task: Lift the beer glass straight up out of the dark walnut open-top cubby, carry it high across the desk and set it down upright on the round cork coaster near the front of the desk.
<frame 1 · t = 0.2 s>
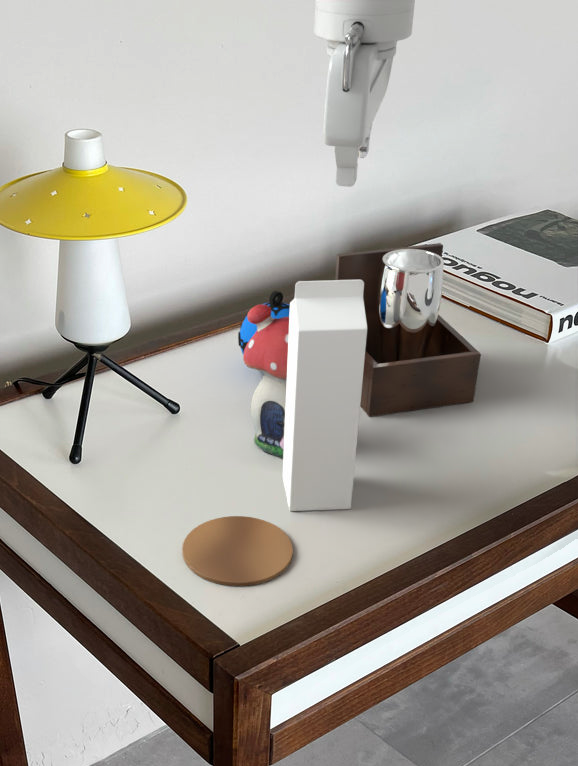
hand: (352, 169, 99), 26 cm above the table, tool pointing down, fingers open, 8 cm apart
coaster: (237, 551, 92), on the table
milk: (315, 495, 99), on the table
ornament: (273, 372, 121), on the table
decorative ornament: (283, 443, 107), on the table
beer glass: (398, 385, 118), resting in cubby
cubby: (398, 383, 118), on the table
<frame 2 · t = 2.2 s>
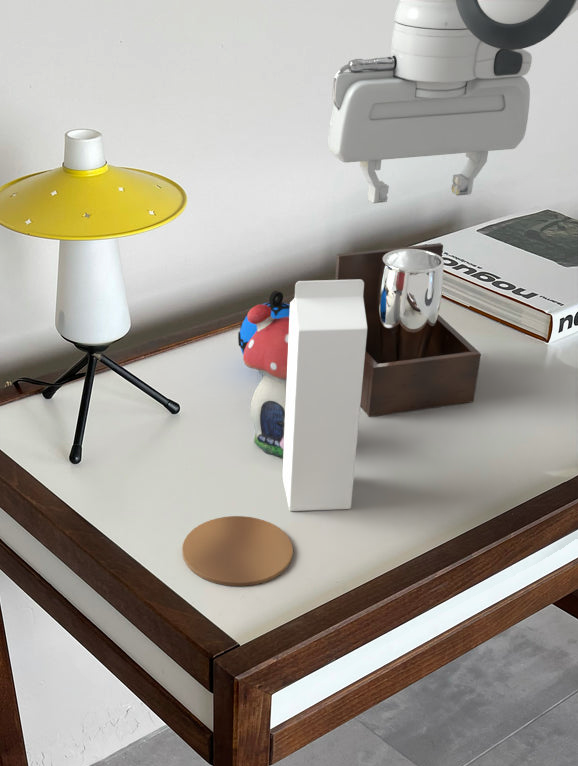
hand: (419, 197, 105), 22 cm above the table, tool pointing down, fingers open, 8 cm apart
nothing on the table moved.
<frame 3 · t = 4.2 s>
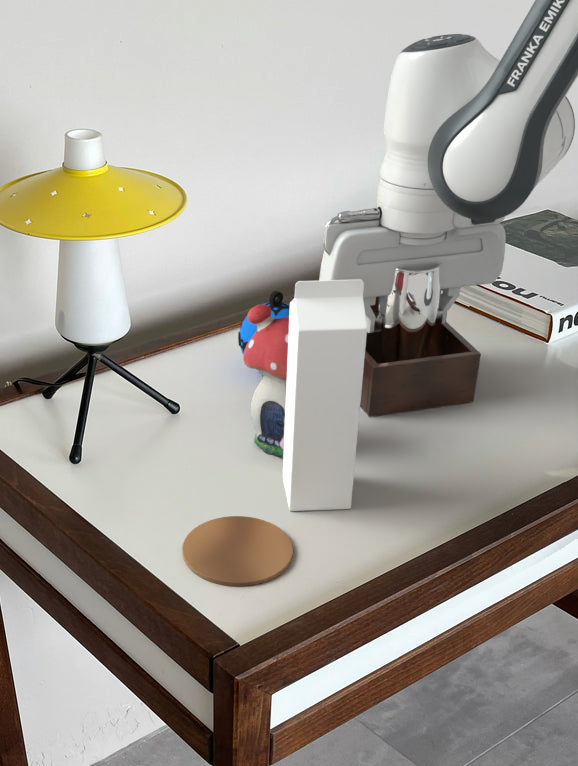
hand: (404, 326, 114), 7 cm above the table, tool pointing down, fingers closed on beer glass, 6 cm apart
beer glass: (398, 384, 118), resting in cubby, touching gripper
everything else where it was.
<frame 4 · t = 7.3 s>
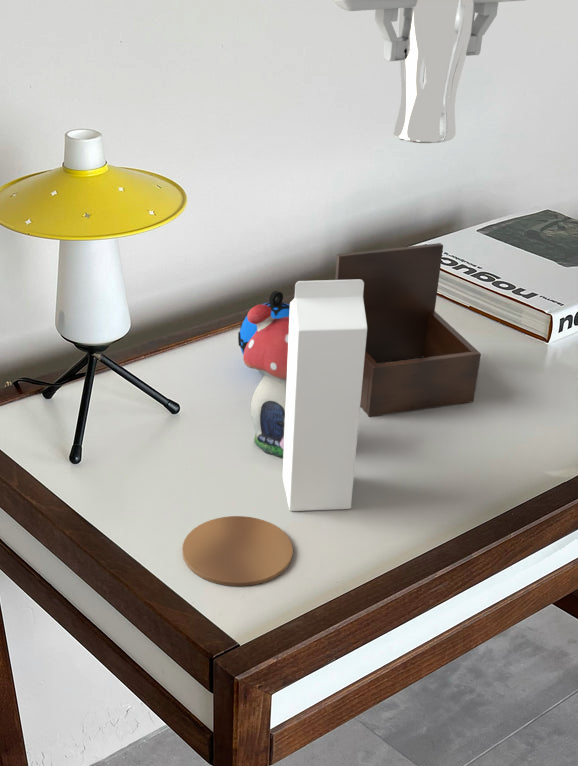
hand: (431, 57, 96), 36 cm above the table, tool pointing down, fingers closed on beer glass, 6 cm apart
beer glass: (423, 137, 101), point 28 cm above the table, touching gripper
everything else where it was.
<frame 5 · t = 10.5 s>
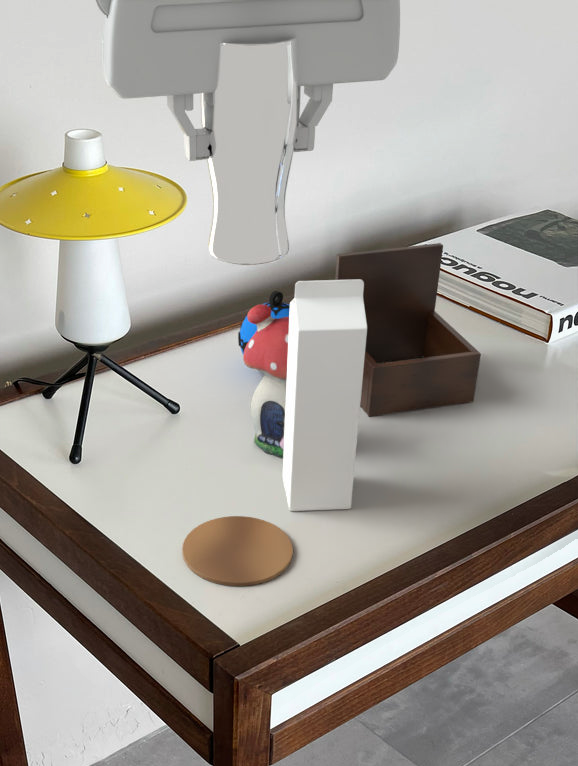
hand: (249, 153, 72), 35 cm above the table, tool pointing down, fingers closed on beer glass, 6 cm apart
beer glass: (248, 253, 77), point 28 cm above the table, touching gripper
everything else where it was.
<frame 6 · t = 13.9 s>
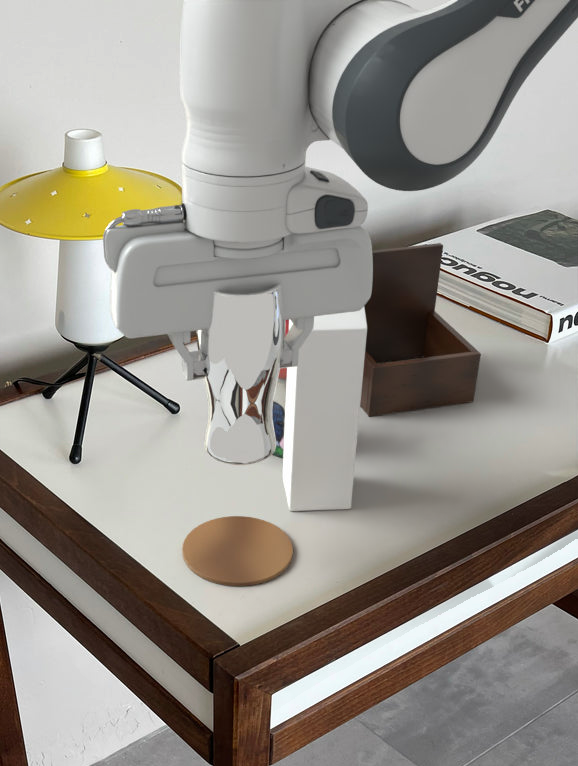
hand: (240, 370, 81), 18 cm above the table, tool pointing down, fingers closed on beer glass, 6 cm apart
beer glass: (240, 448, 86), point 11 cm above the table, touching gripper
everything else where it was.
when the fingers open (8 cm above the table, at t = 16.9 s): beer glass stays where it is, resting on coaster.
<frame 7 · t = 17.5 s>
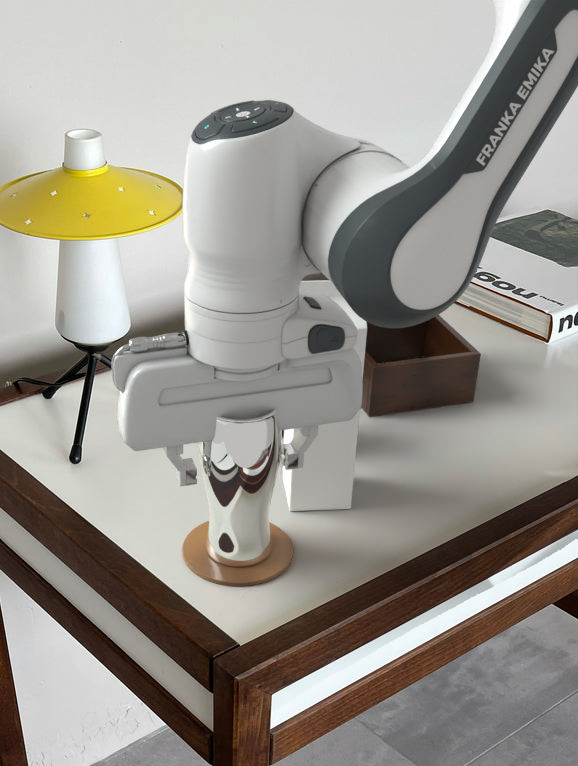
hand: (239, 473, 87), 8 cm above the table, tool pointing down, fingers open, 8 cm apart
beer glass: (238, 548, 92), resting on coaster
everything else where it was.
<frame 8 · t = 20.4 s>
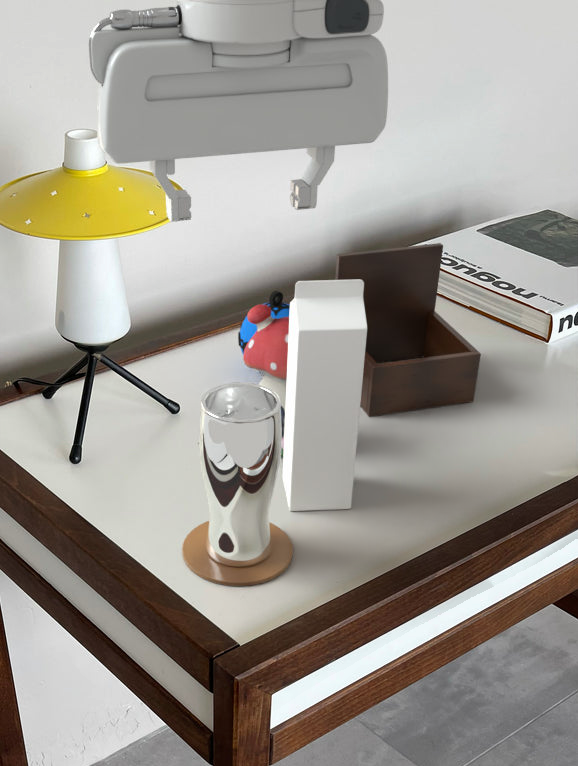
hand: (241, 212, 74), 31 cm above the table, tool pointing down, fingers open, 8 cm apart
nothing on the table moved.
at the end: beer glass 0.1 cm off-centre on the coaster, point 0.2 cm above the coaster's base; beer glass tilted 0°; the gripper is holding nothing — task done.
